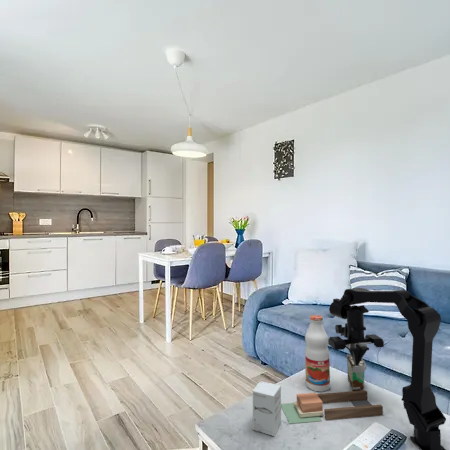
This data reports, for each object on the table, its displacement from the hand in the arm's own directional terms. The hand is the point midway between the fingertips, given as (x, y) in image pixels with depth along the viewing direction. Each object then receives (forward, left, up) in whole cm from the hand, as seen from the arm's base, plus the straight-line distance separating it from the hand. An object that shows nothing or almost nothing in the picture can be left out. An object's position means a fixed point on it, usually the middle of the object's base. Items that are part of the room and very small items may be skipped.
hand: (356, 365), depth 111 cm
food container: (+10, -6, -13) cm, 18 cm away
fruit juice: (+12, +10, -13) cm, 20 cm away
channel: (-4, +6, -13) cm, 15 cm away
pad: (-4, +23, -13) cm, 27 cm away
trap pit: (-4, -1, -13) cm, 14 cm away
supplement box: (-10, +36, -13) cm, 40 cm away
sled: (-4, +20, -13) cm, 24 cm away
